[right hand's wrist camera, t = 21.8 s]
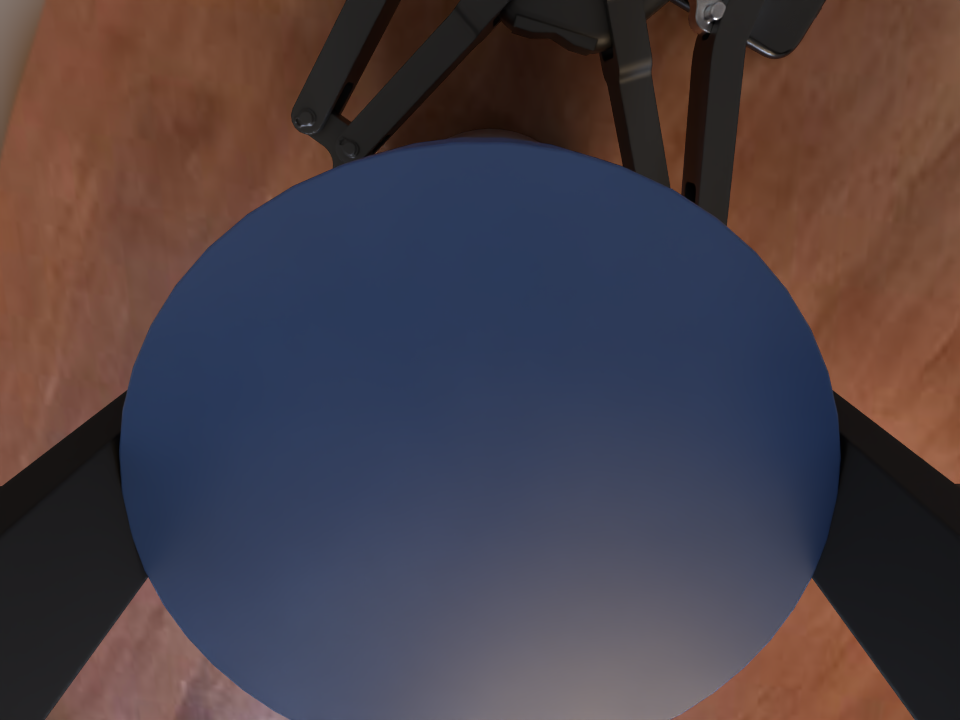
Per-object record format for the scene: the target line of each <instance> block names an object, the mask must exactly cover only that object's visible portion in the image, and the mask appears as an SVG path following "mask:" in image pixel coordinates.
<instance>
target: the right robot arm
mask: <svg viewBox="0 0 960 720" xmlns="http://www.w3.org/2000/svg"><path fill="white" fill-rule="evenodd" d="M832 391H833V390H832ZM126 394H127V391H125V392H124V393H123V394H121V395H120V396H119V397H118V398H116V399H115V400H114V401H112V402H111V403H110V404H108V405H107V406H106V407H105V408H103V409H102V410H101V411H99V412H98V413H97V414H95V415H94V416H93V417H91V418H90V419H89V420H88V421H86V422H85V423H84V424H82V425H81V426H80V427H78V428H77V429H76V430H75V431H73V432H72V433H71V434H69V435H68V436H67V437H65V438H64V439H63V440H61V441H60V442H59V443H58V444H56V445H55V446H54V447H52V448H51V449H50V450H48V451H47V452H46V453H45V454H43V455H42V456H41V457H39V458H38V459H37V460H35V461H34V462H33V463H31V464H30V465H29V466H28V467H26V468H25V469H24V470H22V471H21V472H20V473H18V474H17V475H16V476H15V477H13V478H12V479H11V480H9V481H8V482H7V483H5V484H4V485H3V486H0V720H45V719H46V717H47V716H48V715H49V713H50V712H51V710H52V709H53V708H54V706H55V705H56V703H57V702H58V701H59V699H60V698H61V697H62V695H63V694H64V692H65V691H66V690H67V688H68V687H69V686H70V684H71V683H72V681H73V680H74V679H75V677H76V676H77V675H78V673H79V672H80V670H81V669H82V668H83V666H84V665H85V663H86V662H87V661H88V659H89V658H90V657H91V655H92V654H93V652H94V651H95V650H96V648H97V647H98V646H99V644H100V643H101V641H102V640H103V639H104V637H105V636H106V635H107V633H108V632H109V630H110V629H111V628H112V626H113V625H114V623H115V622H116V621H117V619H118V618H119V617H120V615H121V614H122V612H123V611H124V610H125V608H126V607H127V606H128V604H129V603H130V601H131V600H132V599H133V597H134V596H135V595H136V593H137V592H138V590H139V589H140V588H141V586H142V585H143V583H144V582H145V581H146V579H147V578H148V575H147V574H146V572H145V570H144V567H143V564H142V562H141V559H140V557H139V554H138V551H137V549H136V546H135V543H134V541H133V538H132V534H131V530H130V525H129V521H128V517H127V512H126V508H125V503H124V499H123V495H122V489H121V475H120V460H119V446H120V434H121V423H122V411H123V406H124V402H125V398H126ZM833 395H834V400H835V404H836V408H837V413H838V422H839V437H840V452H841V462H840V474H839V485H838V494H837V499H836V504H835V508H834V512H833V516H832V521H831V525H830V529H829V534H828V538H827V541H826V544H825V546H824V549H823V551H822V554H821V556H820V559H819V561H818V564H817V566H816V569H815V572H814V574H813V576H812V579H813V580H814V581H815V583H816V584H817V585H818V587H819V588H820V590H821V591H822V592H823V594H824V595H825V596H826V598H827V599H828V601H829V602H830V603H831V605H832V606H833V608H834V609H835V610H836V612H837V613H838V614H839V616H840V617H841V619H842V620H843V621H844V623H845V624H846V625H847V627H848V628H849V630H850V631H851V632H852V634H853V635H854V636H855V638H856V639H857V641H858V642H859V643H860V645H861V646H862V648H863V649H864V650H865V652H866V653H867V654H868V656H869V657H870V659H871V660H872V661H873V663H874V664H875V665H876V667H877V668H878V670H879V671H880V672H881V674H882V675H883V676H884V678H885V679H886V681H887V682H888V683H889V685H890V686H891V688H892V689H893V690H894V692H895V693H896V694H897V696H898V697H899V699H900V700H901V701H902V703H903V704H904V705H905V707H906V708H907V710H908V711H909V712H910V714H911V715H912V717H913V718H914V719H915V720H960V484H954V483H953V482H952V481H950V480H949V479H948V478H946V477H945V476H944V475H942V474H941V473H940V472H938V471H937V470H936V469H935V468H933V467H932V466H931V465H929V464H928V463H927V462H925V461H924V460H923V459H922V458H920V457H919V456H918V455H916V454H915V453H914V452H912V451H911V450H910V449H908V448H907V447H906V446H905V445H903V444H902V443H901V442H899V441H898V440H897V439H895V438H894V437H893V436H892V435H890V434H889V433H888V432H886V431H885V430H884V429H882V428H881V427H880V426H878V425H877V424H876V423H875V422H873V421H872V420H871V419H869V418H868V417H867V416H865V415H864V414H863V413H862V412H860V411H859V410H858V409H856V408H855V407H854V406H852V405H851V404H850V403H848V402H847V401H846V400H845V399H843V398H842V397H841V396H839V395H838V394H837V393H835V392H834V391H833Z"/></svg>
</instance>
